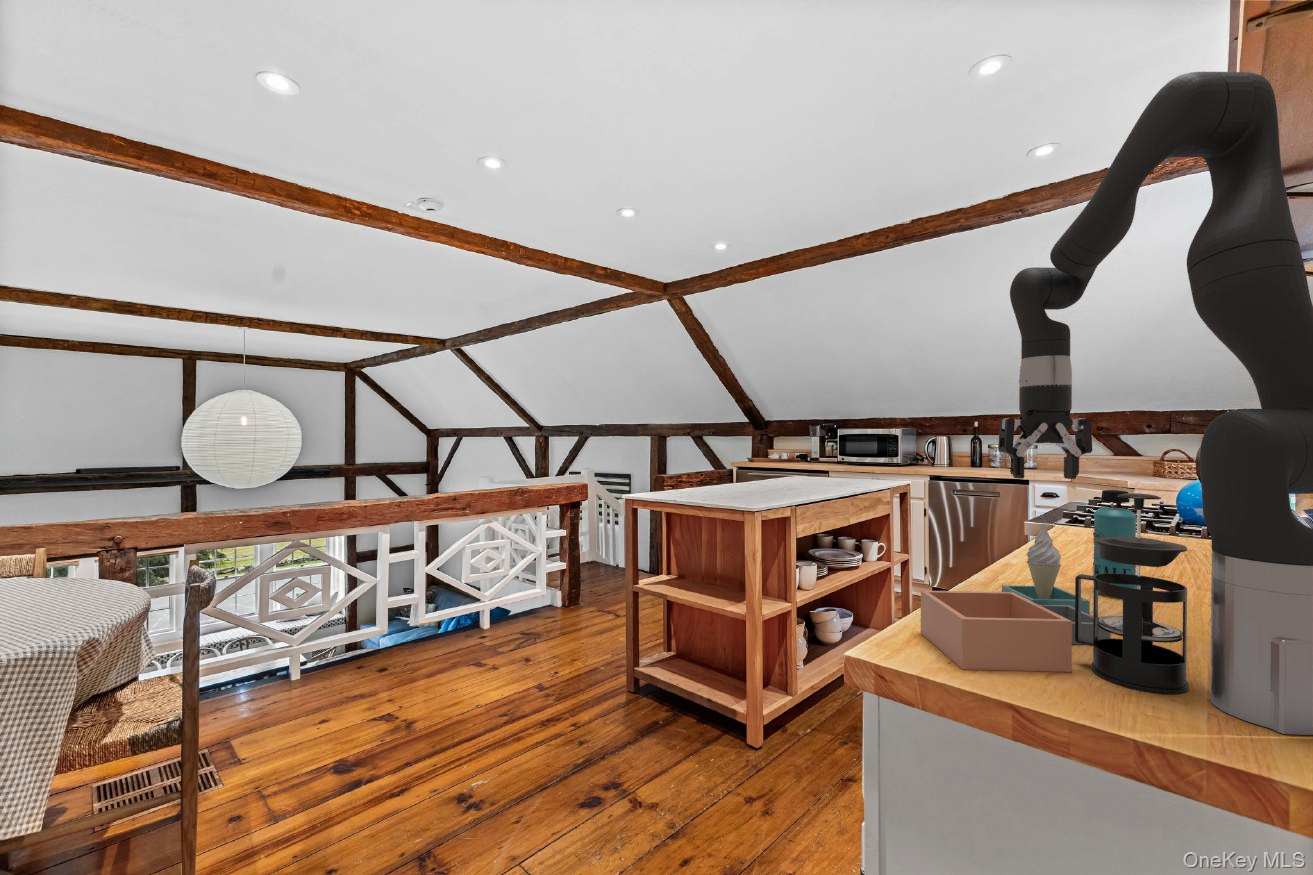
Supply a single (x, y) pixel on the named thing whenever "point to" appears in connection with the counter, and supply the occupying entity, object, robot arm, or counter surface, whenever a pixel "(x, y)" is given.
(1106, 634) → the frame
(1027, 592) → the crate
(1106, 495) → the beverage bottle
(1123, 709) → the counter surface
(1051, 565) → the ice cream cone
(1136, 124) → the robot arm
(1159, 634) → the french press
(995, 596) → the bin
